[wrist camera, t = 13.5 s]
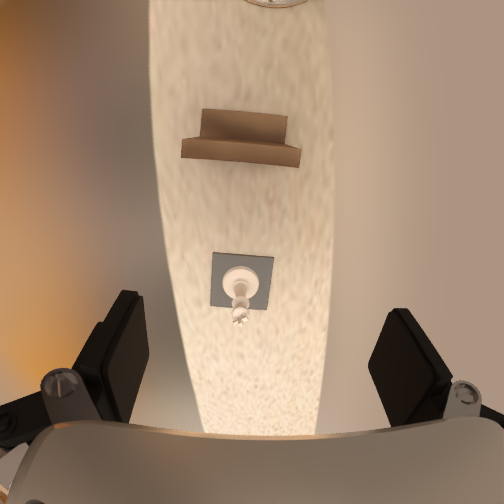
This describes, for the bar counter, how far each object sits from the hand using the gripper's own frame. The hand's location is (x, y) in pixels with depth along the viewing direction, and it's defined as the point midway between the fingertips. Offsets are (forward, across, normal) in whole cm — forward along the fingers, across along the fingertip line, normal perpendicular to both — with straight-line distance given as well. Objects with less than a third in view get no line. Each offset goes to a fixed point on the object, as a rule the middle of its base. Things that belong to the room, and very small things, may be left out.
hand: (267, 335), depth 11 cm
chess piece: (+28, 0, +14) cm, 32 cm away
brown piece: (+30, +2, -5) cm, 30 cm away
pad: (+29, 0, +14) cm, 32 cm away
